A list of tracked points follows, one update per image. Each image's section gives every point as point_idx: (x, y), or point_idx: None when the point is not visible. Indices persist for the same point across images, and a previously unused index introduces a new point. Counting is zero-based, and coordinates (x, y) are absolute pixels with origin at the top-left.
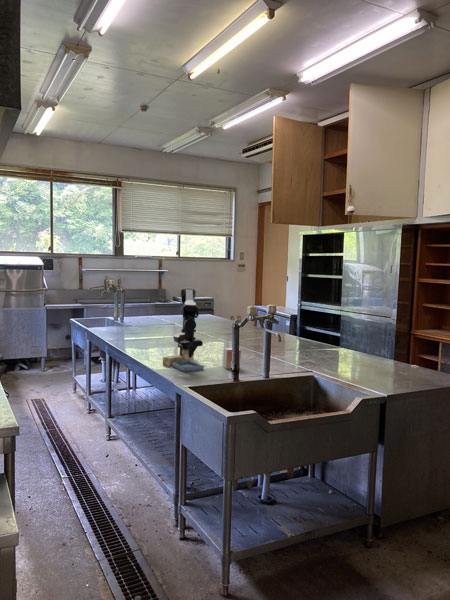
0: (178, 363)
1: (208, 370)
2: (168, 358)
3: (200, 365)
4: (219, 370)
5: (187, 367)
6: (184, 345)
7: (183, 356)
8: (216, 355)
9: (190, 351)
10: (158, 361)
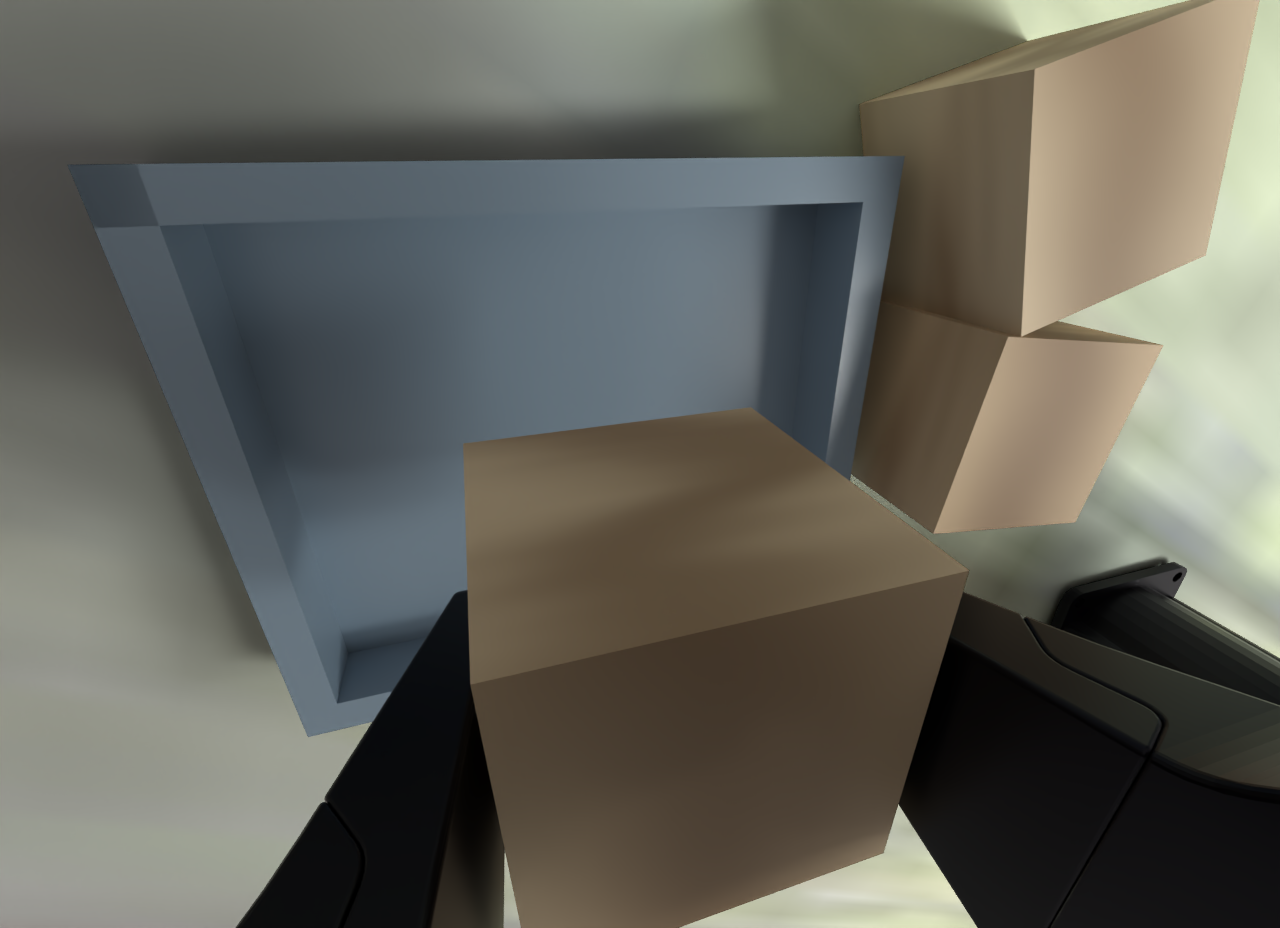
0: (820, 355)
1: (260, 734)
2: (1053, 61)
3: (375, 690)
4: (229, 876)
5: (131, 290)
6: (1186, 898)
7: (678, 451)
8: (943, 905)
9: (301, 876)
10: (1238, 146)
